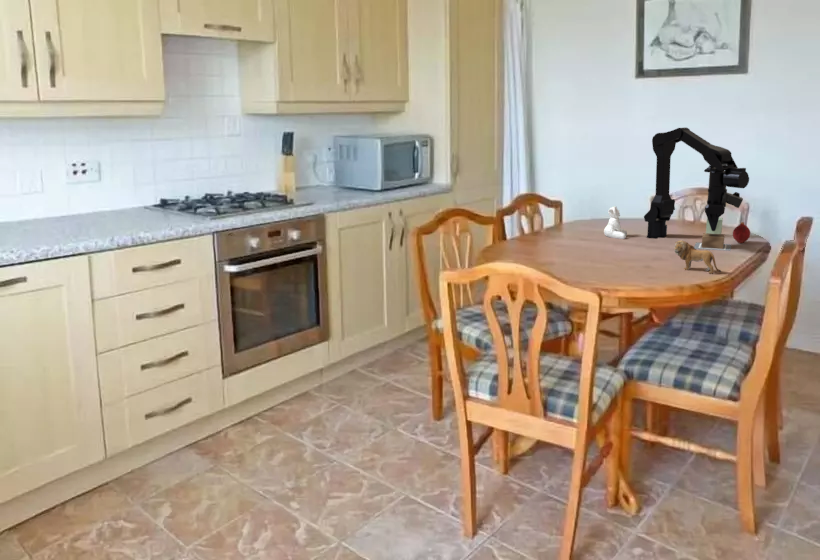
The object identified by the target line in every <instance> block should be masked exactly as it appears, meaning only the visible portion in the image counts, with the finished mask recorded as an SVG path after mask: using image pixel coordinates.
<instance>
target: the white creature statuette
mask: <svg viewBox="0 0 820 560" xmlns="http://www.w3.org/2000/svg"><path fill="white" fill-rule="evenodd" d="M607 211H608V215H609V217H610V218H609V219H608V223H607V225H606V226H605V227H604V229H603V234H604V236H606V237H607V238H612V239H618V240H619V239H620V240H623V239H624V240H625V239H626V237H627V234H628V231H627V230H626V229H624V228H621V222H620V216H621V214H620V210H619V209H618V207H617V206H616V205H615V206H611V207H609V209H608V210H607Z"/></svg>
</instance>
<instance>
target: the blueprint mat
mask: <svg viewBox="0 0 820 560" xmlns="http://www.w3.org/2000/svg"><path fill="white" fill-rule="evenodd" d="M693 247H694V248H695V249H696V250H708V251H710V250H711V251H723V252H724V251H726V252H727V251H728V252H731V251H732V244H731V243H724V246H723V249H716V248H702V242H695V244H694V246H693Z"/></svg>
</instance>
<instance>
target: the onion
mask: <svg viewBox="0 0 820 560" xmlns="http://www.w3.org/2000/svg"><path fill="white" fill-rule="evenodd" d="M750 236H751V230H750V228H749V227H748V226H747V225H746V224H745V222H744V221H742V222H740V224H739V225H737V226H736V227H734V229H733V231H732V238H733V239H734V240H735V242H737V243H738V244H743V243H746V242H747V241H748V240H749V238H750Z"/></svg>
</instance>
